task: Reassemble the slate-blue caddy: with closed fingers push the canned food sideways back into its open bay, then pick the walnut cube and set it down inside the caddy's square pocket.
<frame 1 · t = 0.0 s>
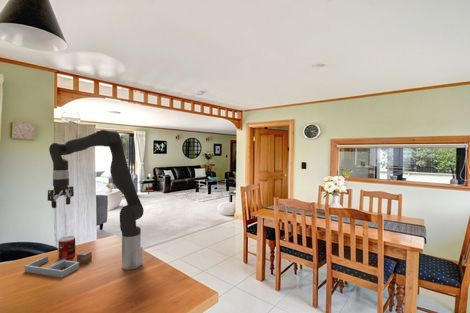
hand: (61, 206, 138), 29 cm above the table, fingers open, 8 cm apart
canned food: (67, 257, 138), on the table
walnut cube: (84, 261, 134), on the table
caddy: (55, 268, 126), on the table
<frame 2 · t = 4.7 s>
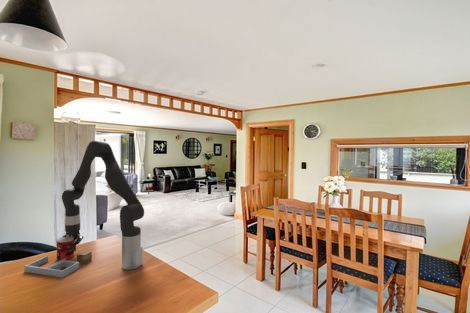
hand: (73, 251, 142), 2 cm above the table, fingers closed
canned food: (65, 258, 137), on the table, touching gripper
everything else where it was.
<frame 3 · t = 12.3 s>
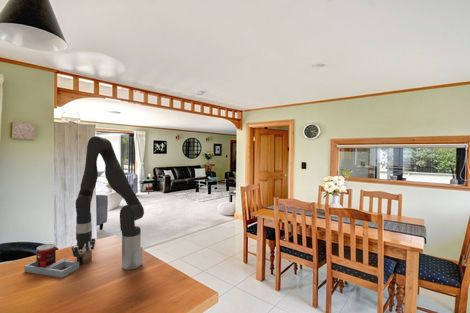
hand: (84, 260, 134), 0 cm above the table, fingers closed on walnut cube, 5 cm apart
canned food: (46, 267, 127), on the table
walnut cube: (84, 261, 134), on the table, touching gripper
when the fingers open (4 cm above the table, at t = 16.7 s): walnut cube drops 3 cm, resting in caddy.
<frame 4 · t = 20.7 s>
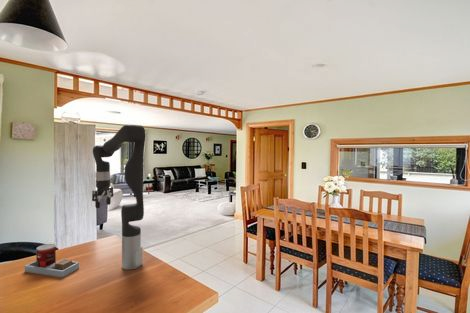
hand: (103, 206, 144), 28 cm above the table, fingers open, 8 cm apart
walnut cube: (63, 271, 123), resting in caddy
everything else where it was.
at the end: canned food inside the target area on the caddy (0.4 cm from its centre), point 0.0 cm above the caddy's base; canned food tilted 0°; walnut cube inside the target area on the caddy (0.2 cm from its centre), point 0.0 cm above the caddy's base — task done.
